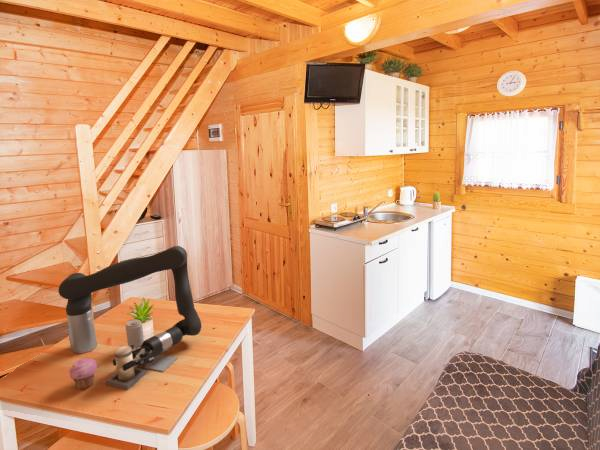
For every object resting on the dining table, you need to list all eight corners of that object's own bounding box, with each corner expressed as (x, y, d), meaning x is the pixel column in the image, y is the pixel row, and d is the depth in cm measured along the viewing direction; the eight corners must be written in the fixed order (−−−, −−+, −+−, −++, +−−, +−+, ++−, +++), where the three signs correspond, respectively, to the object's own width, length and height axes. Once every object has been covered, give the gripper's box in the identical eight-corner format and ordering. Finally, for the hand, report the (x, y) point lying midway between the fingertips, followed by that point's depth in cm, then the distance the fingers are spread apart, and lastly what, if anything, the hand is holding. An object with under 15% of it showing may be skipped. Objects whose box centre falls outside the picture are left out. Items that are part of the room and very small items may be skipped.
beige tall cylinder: (114, 382, 136) (110, 353, 133) (126, 373, 141) (122, 344, 139) (127, 385, 134) (123, 355, 131) (138, 375, 139) (135, 347, 137)
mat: (144, 368, 144) (144, 367, 144) (159, 355, 152) (159, 354, 152) (163, 371, 141) (163, 370, 141) (177, 358, 150) (177, 357, 150)
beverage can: (129, 353, 155) (125, 327, 152) (128, 346, 160) (124, 321, 158) (145, 349, 157) (142, 323, 155) (144, 342, 163) (140, 317, 160)
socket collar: (106, 384, 135) (106, 380, 134) (126, 369, 143) (125, 365, 143) (128, 389, 132) (127, 385, 131) (146, 373, 141) (146, 369, 140)
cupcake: (75, 380, 137) (70, 356, 135) (101, 375, 140) (97, 351, 138) (70, 395, 129) (65, 370, 127) (97, 389, 132) (93, 364, 130)
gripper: (145, 331, 151) (105, 351, 137) (168, 340, 143) (128, 362, 129) (147, 347, 152) (108, 369, 139) (170, 357, 145) (131, 381, 131)
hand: (118, 365), depth 134 cm, fingers closed on beige tall cylinder, 5 cm apart
